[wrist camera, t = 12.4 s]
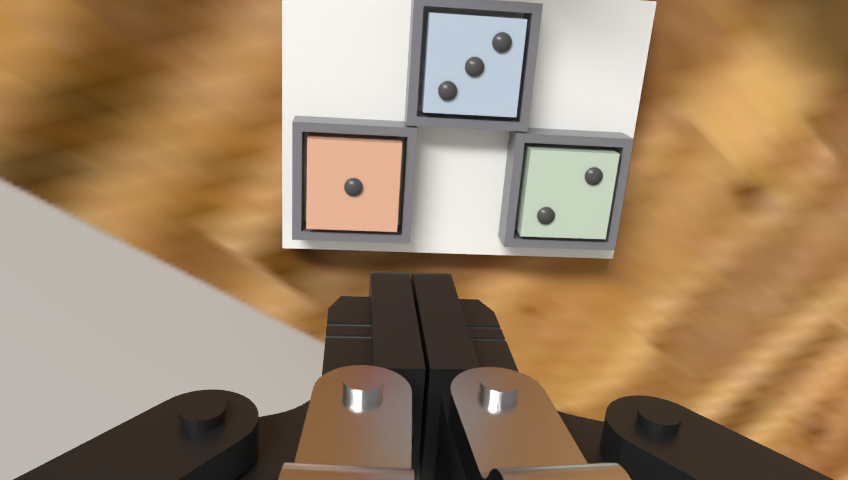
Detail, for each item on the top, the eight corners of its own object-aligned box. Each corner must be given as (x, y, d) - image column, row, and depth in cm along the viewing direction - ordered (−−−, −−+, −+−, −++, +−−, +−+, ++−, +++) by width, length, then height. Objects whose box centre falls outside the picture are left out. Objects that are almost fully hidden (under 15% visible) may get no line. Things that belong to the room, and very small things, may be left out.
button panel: (642, 0, 40) (670, 2, 36) (602, 247, 45) (623, 269, 41) (286, -26, 38) (278, -27, 34) (285, 236, 43) (279, 259, 39)
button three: (519, 17, 37) (527, 19, 35) (509, 111, 39) (516, 117, 37) (426, 11, 37) (430, 12, 35) (420, 106, 38) (423, 112, 37)
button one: (400, 136, 39) (402, 144, 37) (395, 221, 41) (397, 232, 39) (309, 132, 38) (306, 139, 37) (308, 218, 40) (305, 229, 38)
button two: (608, 146, 40) (620, 154, 38) (595, 228, 42) (606, 240, 40) (523, 142, 40) (531, 150, 38) (513, 225, 41) (520, 237, 39)
